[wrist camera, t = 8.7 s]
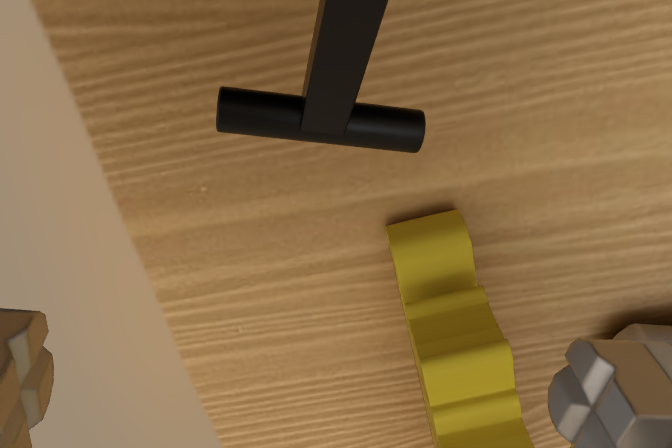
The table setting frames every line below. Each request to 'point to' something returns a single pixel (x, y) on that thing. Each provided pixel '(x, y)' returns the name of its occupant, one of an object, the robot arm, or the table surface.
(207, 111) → the table surface
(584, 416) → the robot arm
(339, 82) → the lever
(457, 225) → the decorative sign
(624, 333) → the mug
